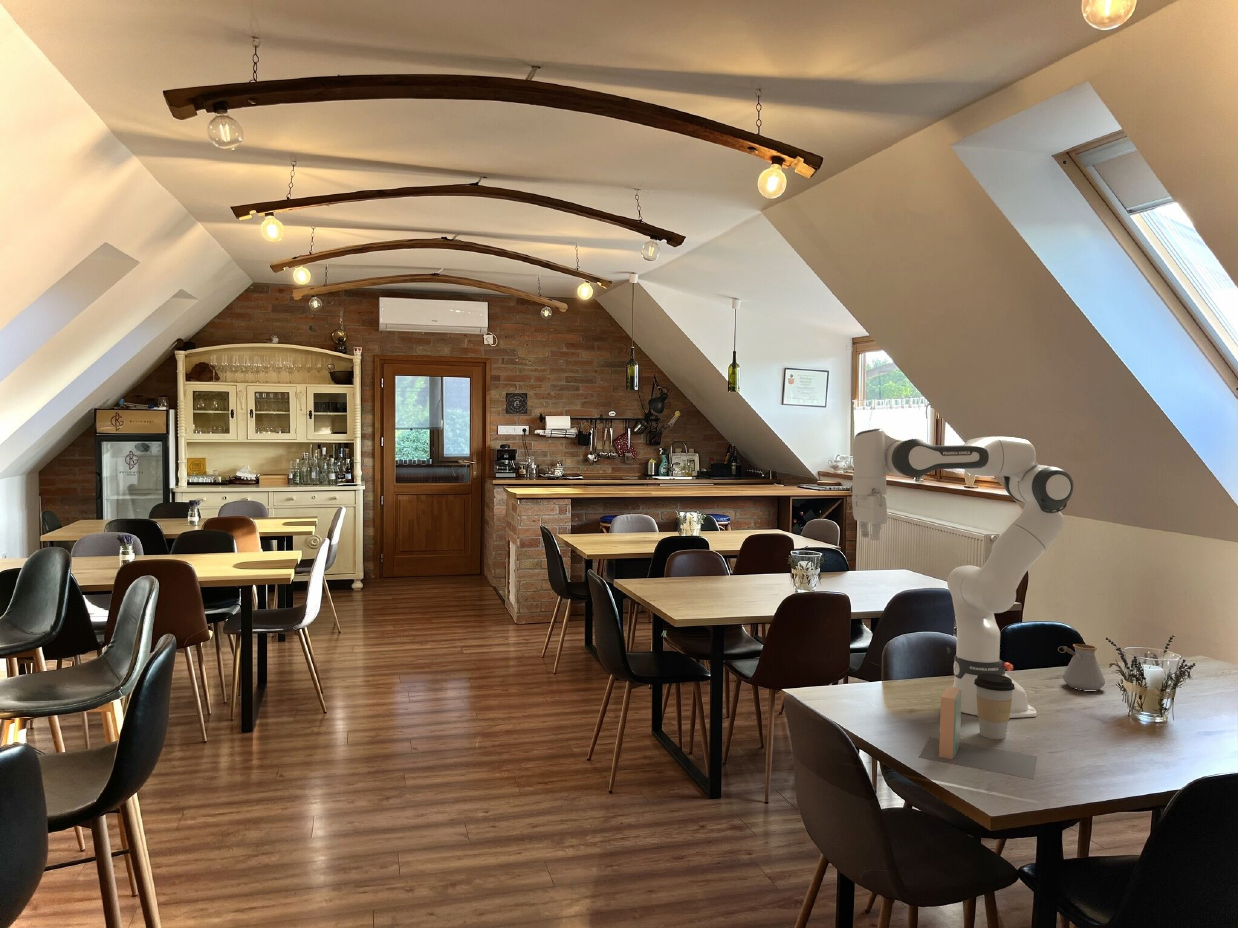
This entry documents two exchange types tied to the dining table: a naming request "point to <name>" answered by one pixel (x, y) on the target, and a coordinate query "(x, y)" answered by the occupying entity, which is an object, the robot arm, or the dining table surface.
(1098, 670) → the coffee pot
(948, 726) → the block
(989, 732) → the coffee cup
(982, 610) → the robot arm
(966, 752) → the mat
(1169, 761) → the dining table surface
